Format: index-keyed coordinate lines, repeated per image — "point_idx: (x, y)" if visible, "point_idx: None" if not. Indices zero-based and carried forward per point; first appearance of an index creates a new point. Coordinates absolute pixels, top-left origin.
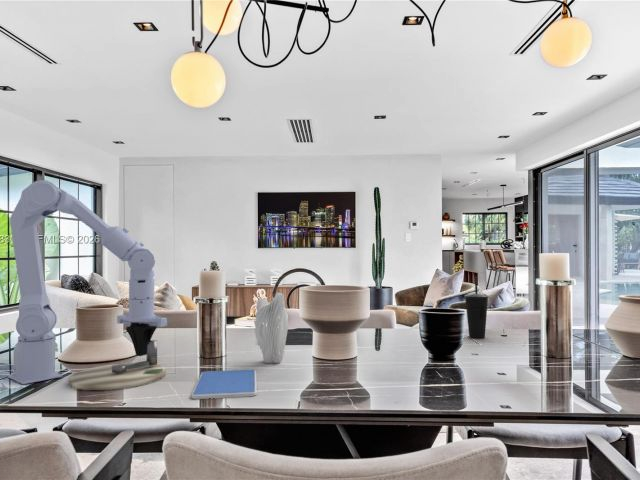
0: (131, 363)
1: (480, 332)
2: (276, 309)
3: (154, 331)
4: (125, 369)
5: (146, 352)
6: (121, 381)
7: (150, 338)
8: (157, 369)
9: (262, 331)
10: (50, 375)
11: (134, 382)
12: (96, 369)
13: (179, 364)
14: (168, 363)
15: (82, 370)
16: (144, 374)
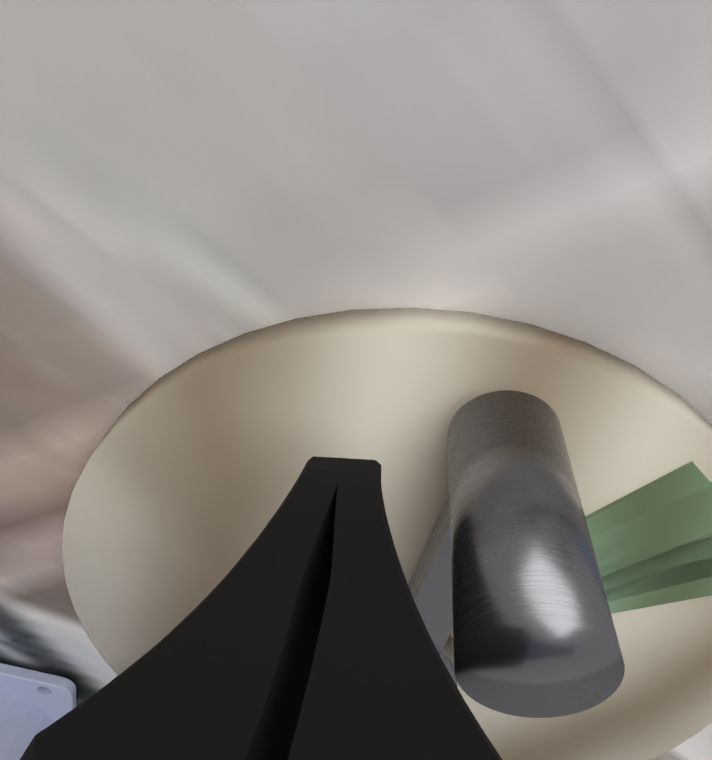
0: (415, 603)
1: None
2: None
3: (478, 725)
4: (452, 649)
5: (379, 481)
6: (593, 738)
7: (421, 628)
8: (659, 502)
9: None
10: (46, 721)
11: (694, 731)
12: (146, 607)
13: (631, 15)
14: (429, 38)
15: (94, 643)
16: (633, 612)
